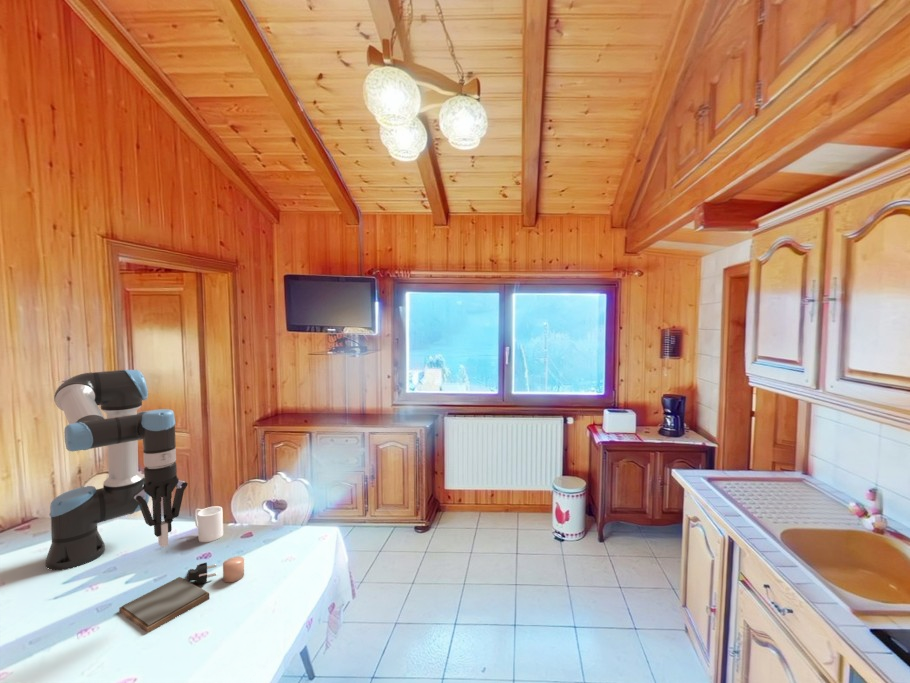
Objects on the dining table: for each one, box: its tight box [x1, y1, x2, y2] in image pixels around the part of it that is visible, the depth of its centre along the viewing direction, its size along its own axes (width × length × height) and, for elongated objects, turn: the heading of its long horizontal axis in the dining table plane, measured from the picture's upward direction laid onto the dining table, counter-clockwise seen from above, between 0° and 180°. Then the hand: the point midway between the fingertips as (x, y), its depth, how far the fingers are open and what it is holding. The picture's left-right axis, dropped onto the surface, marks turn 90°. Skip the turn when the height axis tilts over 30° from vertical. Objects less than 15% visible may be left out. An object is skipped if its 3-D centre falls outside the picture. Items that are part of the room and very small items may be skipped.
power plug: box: [187, 562, 217, 585], centre depth 132 cm, size 6×8×12 cm
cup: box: [194, 505, 224, 543], centre depth 158 cm, size 8×12×10 cm
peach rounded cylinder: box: [222, 556, 245, 583], centre depth 132 cm, size 6×6×5 cm
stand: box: [119, 576, 210, 634], centre depth 118 cm, size 16×16×2 cm
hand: (163, 544), depth 117 cm, fingers closed
